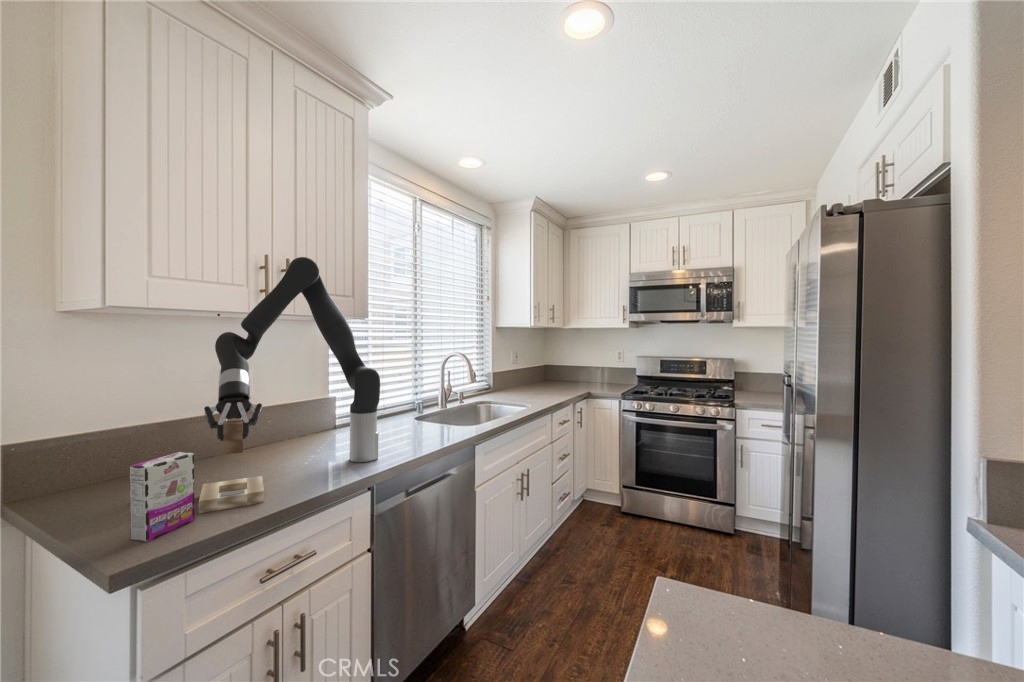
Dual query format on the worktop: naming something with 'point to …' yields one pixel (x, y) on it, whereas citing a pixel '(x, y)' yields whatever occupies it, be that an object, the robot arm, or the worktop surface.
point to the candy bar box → (161, 495)
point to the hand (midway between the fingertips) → (233, 438)
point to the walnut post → (233, 437)
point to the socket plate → (231, 494)
